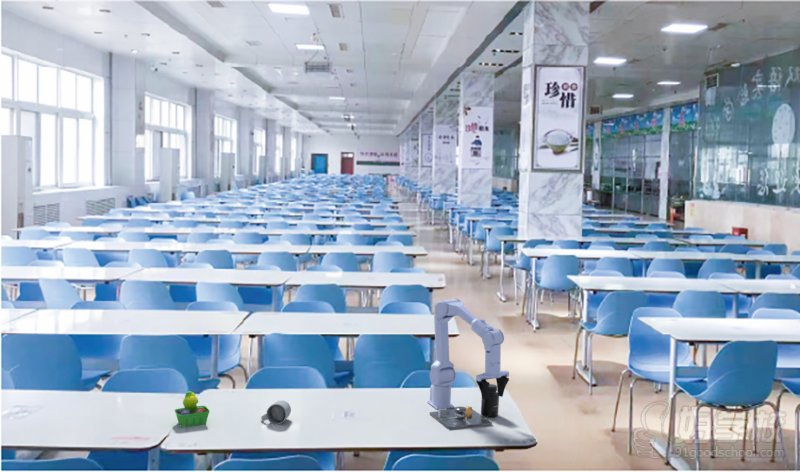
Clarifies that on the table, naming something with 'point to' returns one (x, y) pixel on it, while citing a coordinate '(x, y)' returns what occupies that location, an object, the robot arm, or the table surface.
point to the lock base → (459, 419)
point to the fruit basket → (191, 412)
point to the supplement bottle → (490, 403)
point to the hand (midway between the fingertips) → (492, 397)
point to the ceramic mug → (277, 412)
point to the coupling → (464, 411)
